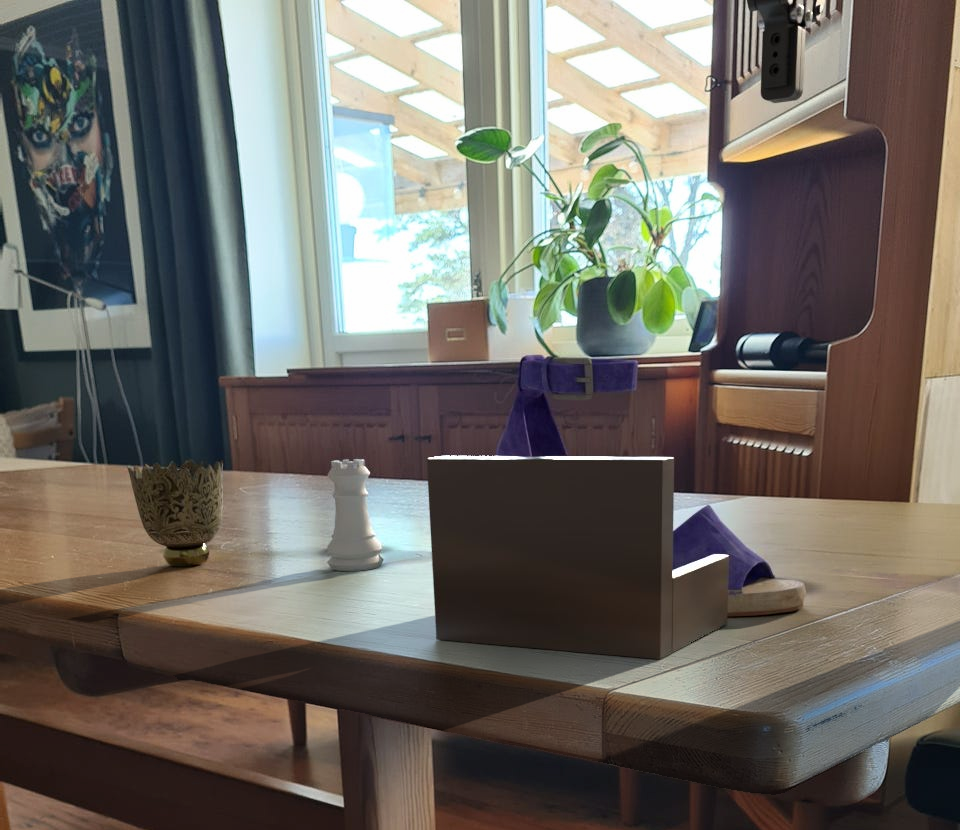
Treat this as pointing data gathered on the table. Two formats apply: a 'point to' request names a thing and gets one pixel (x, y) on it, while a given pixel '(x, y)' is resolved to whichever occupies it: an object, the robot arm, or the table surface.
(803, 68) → the robot arm
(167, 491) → the cup
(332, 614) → the table surface
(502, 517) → the brown stepped block
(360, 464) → the rook chess piece
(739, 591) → the sandal
